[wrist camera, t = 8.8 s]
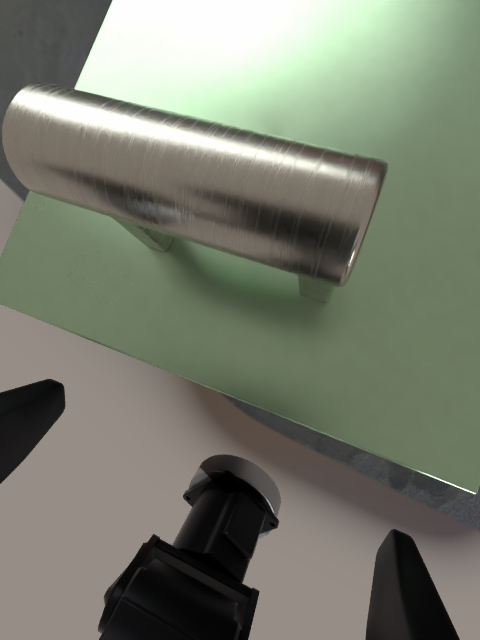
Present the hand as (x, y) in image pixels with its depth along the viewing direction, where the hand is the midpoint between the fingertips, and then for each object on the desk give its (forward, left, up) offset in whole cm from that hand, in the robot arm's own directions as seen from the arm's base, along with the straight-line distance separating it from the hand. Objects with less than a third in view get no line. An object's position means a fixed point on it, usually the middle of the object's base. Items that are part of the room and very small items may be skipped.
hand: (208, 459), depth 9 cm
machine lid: (+5, +4, -4) cm, 8 cm away
